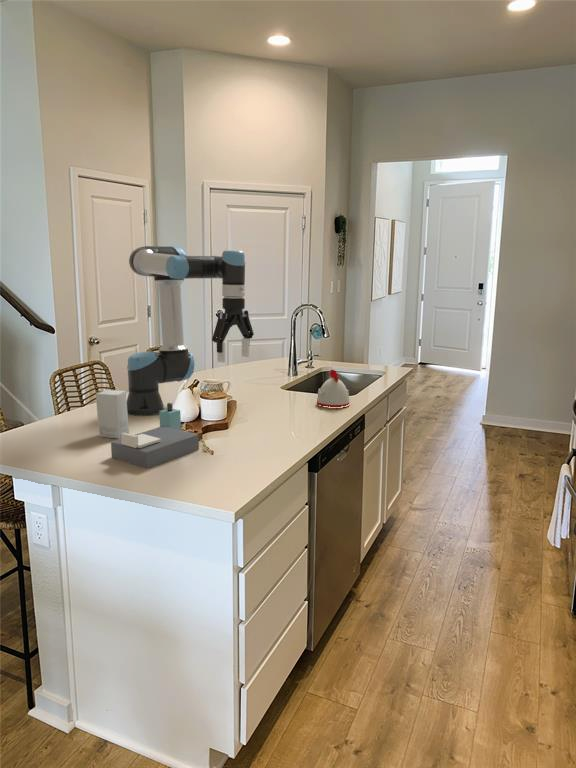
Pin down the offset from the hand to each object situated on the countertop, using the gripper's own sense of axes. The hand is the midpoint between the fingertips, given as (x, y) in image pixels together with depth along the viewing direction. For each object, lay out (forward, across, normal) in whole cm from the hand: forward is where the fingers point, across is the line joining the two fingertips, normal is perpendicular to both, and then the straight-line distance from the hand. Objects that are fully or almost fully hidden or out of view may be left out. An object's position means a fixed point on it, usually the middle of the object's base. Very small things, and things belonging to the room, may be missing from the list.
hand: (233, 359), depth 203 cm
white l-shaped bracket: (+21, -38, +7) cm, 44 cm away
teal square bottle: (+27, -15, +16) cm, 35 cm away
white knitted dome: (+27, +57, -9) cm, 64 cm away
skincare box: (+27, -26, +32) cm, 49 cm away
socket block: (+27, -32, +7) cm, 42 cm away
